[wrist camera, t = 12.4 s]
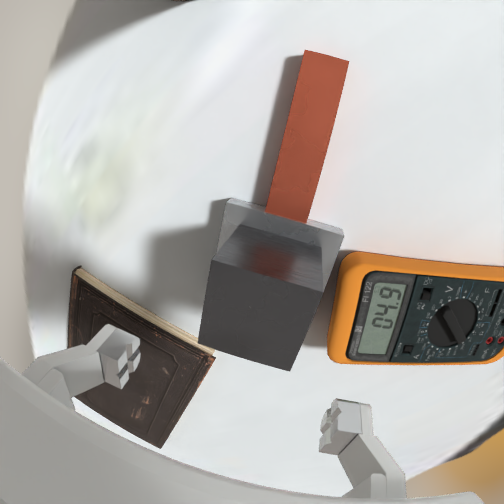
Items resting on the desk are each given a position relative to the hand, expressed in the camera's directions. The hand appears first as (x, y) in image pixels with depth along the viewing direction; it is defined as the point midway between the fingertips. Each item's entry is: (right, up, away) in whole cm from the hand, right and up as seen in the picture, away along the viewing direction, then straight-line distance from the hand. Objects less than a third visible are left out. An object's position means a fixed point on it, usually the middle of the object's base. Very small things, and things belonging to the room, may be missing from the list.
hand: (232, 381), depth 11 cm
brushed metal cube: (+2, +4, +10) cm, 11 cm away
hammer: (+4, +9, +9) cm, 13 cm away
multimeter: (+16, +1, +10) cm, 19 cm away
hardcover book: (-14, -9, +21) cm, 27 cm away
